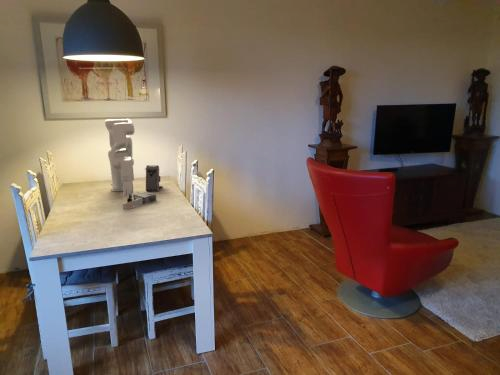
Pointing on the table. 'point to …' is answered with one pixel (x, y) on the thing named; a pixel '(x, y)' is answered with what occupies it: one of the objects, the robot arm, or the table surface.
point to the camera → (152, 178)
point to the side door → (133, 203)
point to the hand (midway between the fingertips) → (130, 205)
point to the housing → (145, 197)
